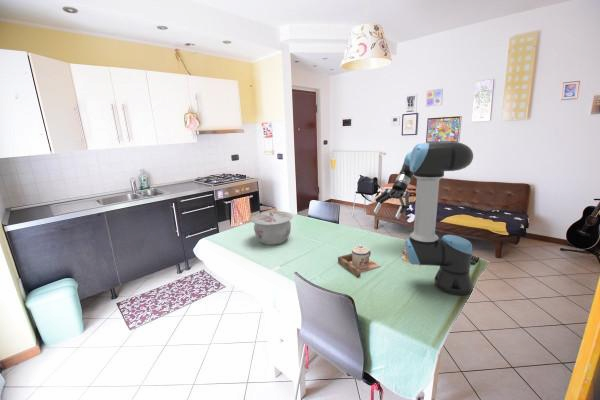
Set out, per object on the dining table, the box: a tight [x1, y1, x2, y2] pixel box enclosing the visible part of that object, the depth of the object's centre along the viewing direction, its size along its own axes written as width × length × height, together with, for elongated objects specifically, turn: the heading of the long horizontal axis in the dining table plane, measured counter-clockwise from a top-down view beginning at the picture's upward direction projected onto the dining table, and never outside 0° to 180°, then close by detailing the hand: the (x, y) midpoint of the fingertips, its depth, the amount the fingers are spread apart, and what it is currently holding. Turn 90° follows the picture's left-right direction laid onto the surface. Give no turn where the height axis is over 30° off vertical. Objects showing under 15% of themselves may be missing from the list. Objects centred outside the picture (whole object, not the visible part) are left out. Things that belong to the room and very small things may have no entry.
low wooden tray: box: [337, 252, 381, 278], centre depth 149 cm, size 18×17×4 cm
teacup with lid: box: [351, 244, 372, 269], centre depth 148 cm, size 12×9×12 cm
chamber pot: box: [250, 210, 293, 246], centre depth 185 cm, size 28×28×21 cm
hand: (385, 215), depth 154 cm, fingers open, 13 cm apart
